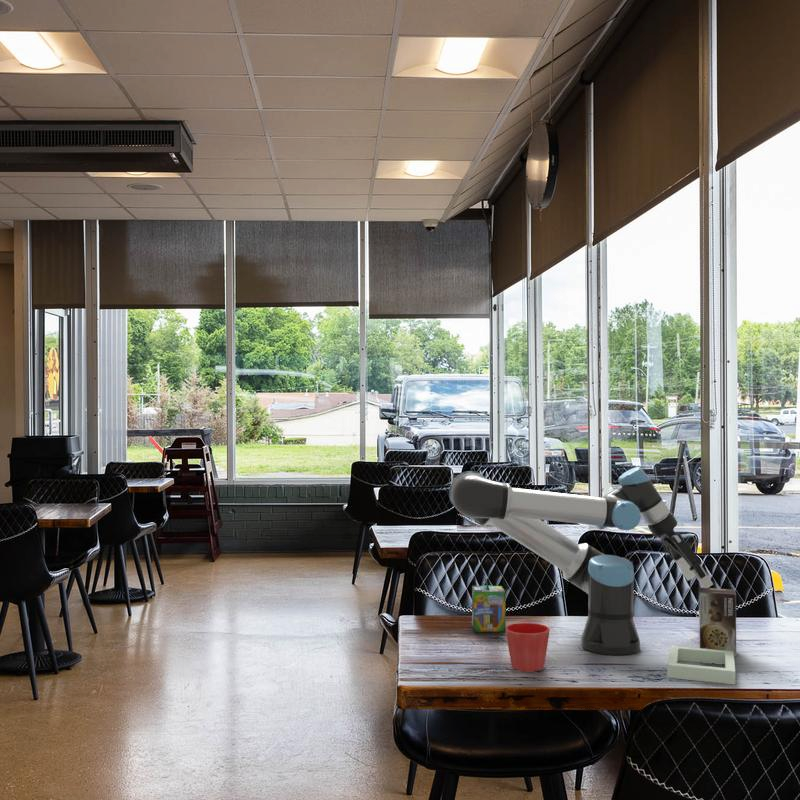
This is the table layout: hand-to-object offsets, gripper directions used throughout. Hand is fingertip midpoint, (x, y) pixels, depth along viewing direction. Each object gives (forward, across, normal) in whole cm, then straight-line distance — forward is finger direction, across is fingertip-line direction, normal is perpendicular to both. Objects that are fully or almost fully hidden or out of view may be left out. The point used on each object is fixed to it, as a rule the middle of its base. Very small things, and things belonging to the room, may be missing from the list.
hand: (700, 582), depth 251 cm
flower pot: (-16, -31, +53) cm, 64 cm away
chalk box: (-20, +7, +57) cm, 61 cm away
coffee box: (+12, -17, +10) cm, 23 cm away
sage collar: (+7, -33, +18) cm, 38 cm away
